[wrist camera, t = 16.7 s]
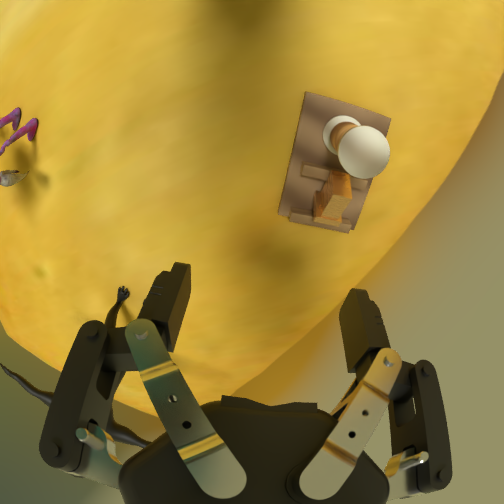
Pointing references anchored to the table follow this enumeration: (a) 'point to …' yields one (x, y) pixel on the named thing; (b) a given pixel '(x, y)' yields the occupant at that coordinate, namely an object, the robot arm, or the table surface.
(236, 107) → the table surface
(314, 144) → the board
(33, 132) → the toy
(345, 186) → the tan wooden block
